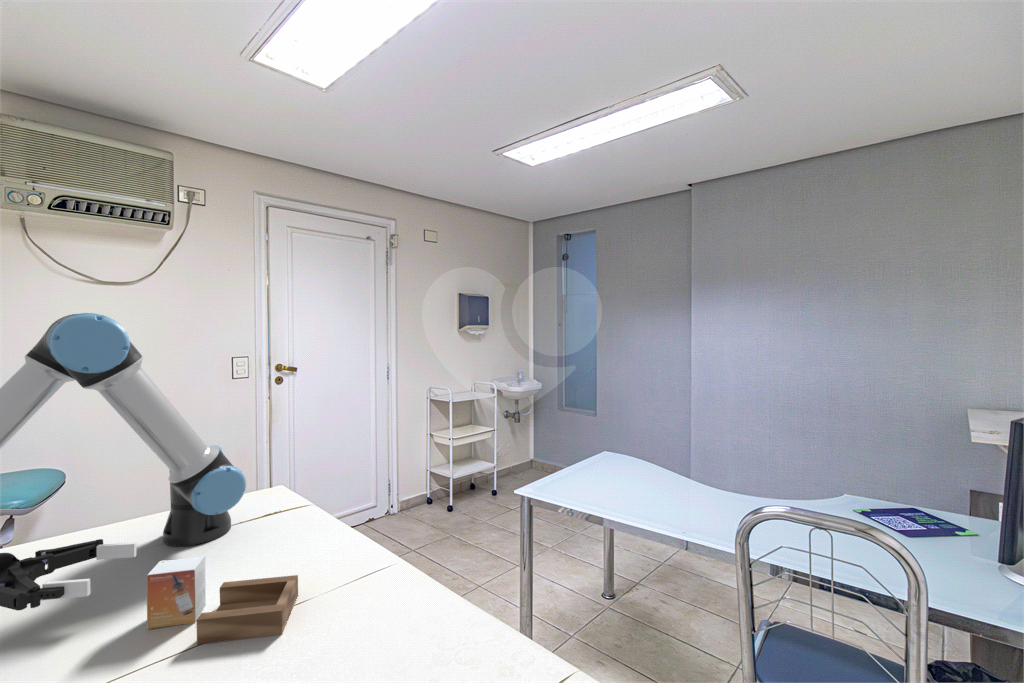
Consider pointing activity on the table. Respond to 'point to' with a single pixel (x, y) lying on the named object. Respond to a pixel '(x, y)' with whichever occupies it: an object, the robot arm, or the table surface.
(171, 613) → the small box
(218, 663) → the table surface
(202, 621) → the rack
